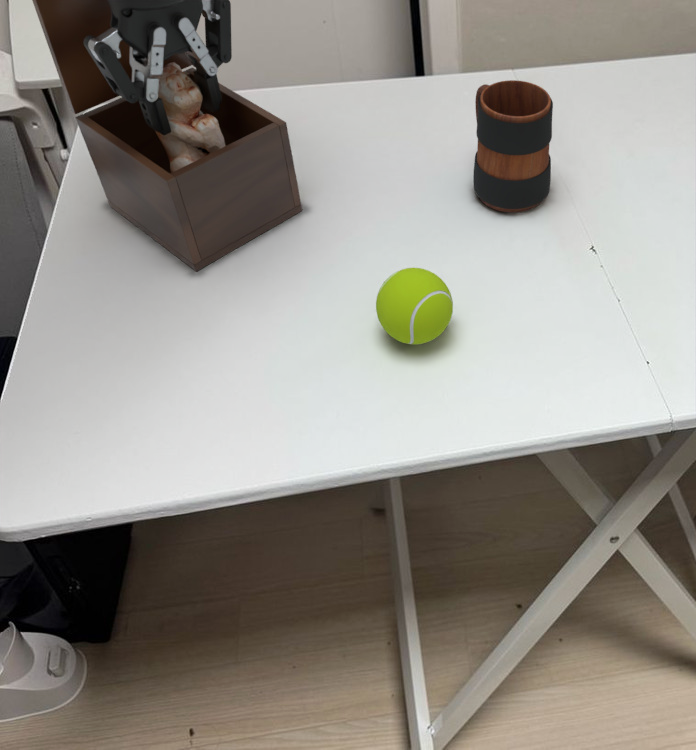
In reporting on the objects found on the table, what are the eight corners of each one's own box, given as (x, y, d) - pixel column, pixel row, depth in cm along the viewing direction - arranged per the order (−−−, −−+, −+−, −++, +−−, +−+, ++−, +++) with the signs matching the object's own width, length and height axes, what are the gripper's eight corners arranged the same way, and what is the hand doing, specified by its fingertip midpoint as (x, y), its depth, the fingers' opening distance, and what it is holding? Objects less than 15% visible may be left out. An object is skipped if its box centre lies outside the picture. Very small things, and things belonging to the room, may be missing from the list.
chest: (302, 210, 91) (286, 122, 83) (196, 271, 84) (167, 181, 76) (215, 154, 98) (192, 67, 90) (110, 206, 91) (74, 116, 82)
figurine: (229, 230, 86) (195, 97, 75) (164, 215, 88) (121, 83, 77) (257, 196, 91) (228, 66, 79) (195, 183, 92) (158, 53, 81)
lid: (160, -99, 76) (126, -120, 78) (16, -57, 69) (-18, -81, 71) (193, 64, 89) (163, 43, 91) (75, 114, 82) (45, 90, 84)
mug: (509, 148, 100) (513, 56, 91) (563, 201, 93) (573, 107, 84) (446, 168, 97) (443, 74, 88) (497, 224, 90) (500, 129, 81)
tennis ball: (468, 334, 79) (468, 278, 74) (412, 371, 76) (408, 316, 70) (419, 297, 82) (416, 242, 77) (364, 331, 79) (356, 276, 74)
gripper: (183, -98, 74) (224, 79, 87) (30, -53, 67) (100, 134, 79) (234, -75, 71) (269, 106, 84) (80, -25, 64) (145, 165, 76)
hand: (187, 119), depth 81 cm, fingers closed on figurine, 5 cm apart
